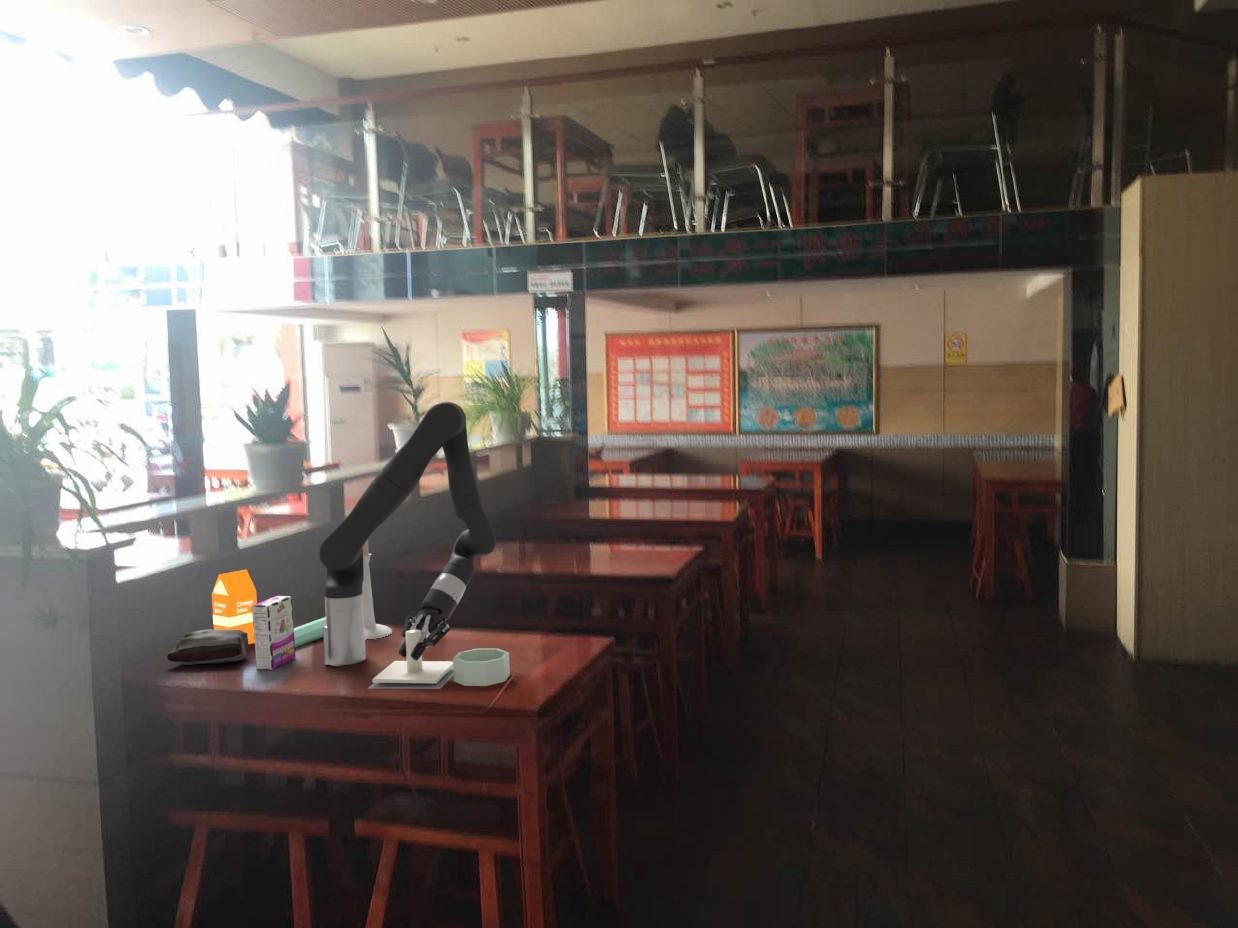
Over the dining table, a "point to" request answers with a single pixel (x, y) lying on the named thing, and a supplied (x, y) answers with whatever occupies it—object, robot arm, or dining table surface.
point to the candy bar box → (273, 632)
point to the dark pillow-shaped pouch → (210, 647)
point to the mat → (415, 685)
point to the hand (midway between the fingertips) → (407, 656)
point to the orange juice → (234, 602)
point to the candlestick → (370, 603)
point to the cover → (413, 666)
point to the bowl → (481, 667)
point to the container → (309, 632)
